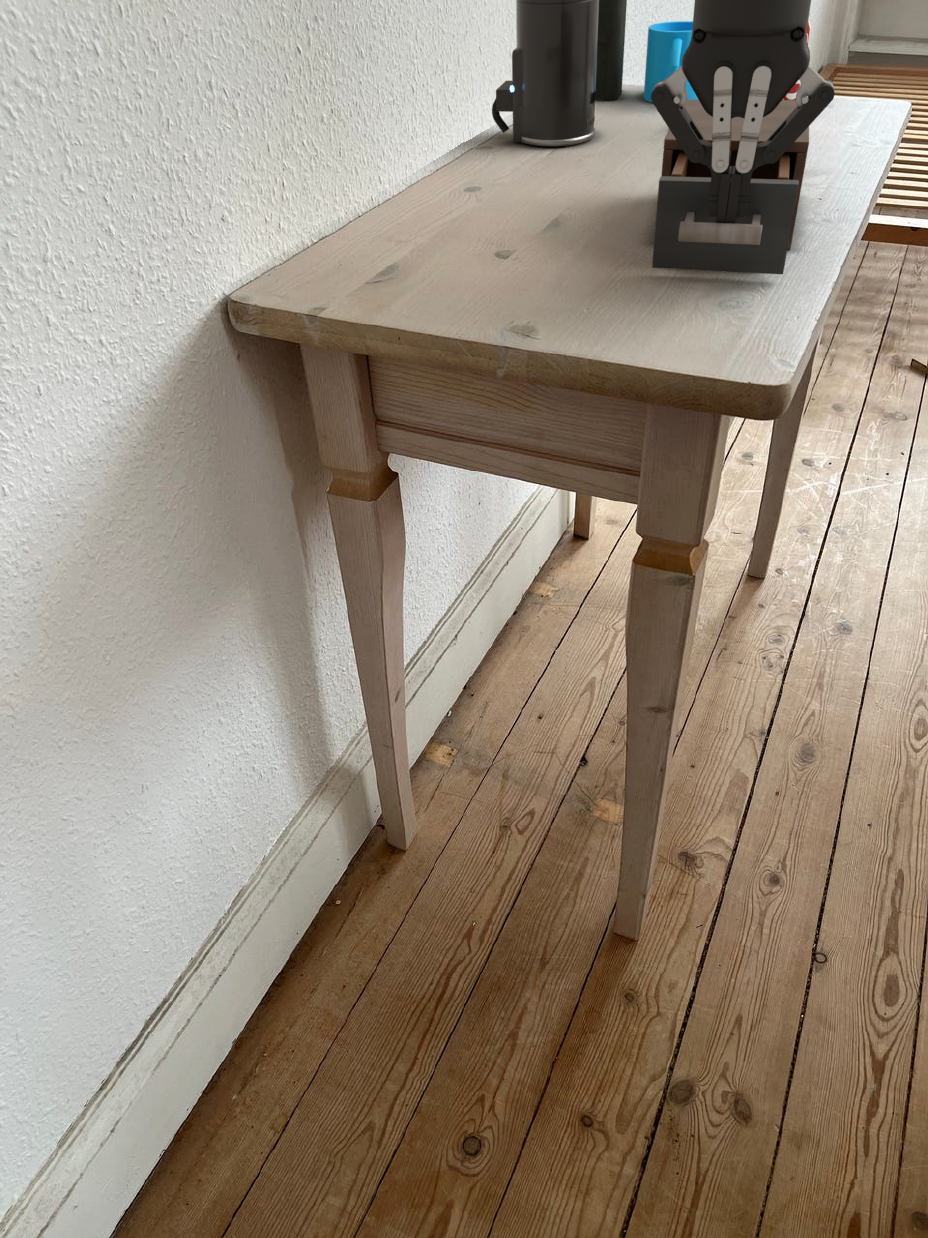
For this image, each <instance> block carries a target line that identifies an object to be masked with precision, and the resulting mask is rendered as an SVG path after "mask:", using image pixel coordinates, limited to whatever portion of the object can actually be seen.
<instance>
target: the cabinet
mask: <svg viewBox="0 0 928 1238" xmlns="http://www.w3.org/2000/svg"><path fill="white" fill-rule="evenodd" d="M797 106H798V105H797V103H796V100H782V101H781V102H780V103H779V105H778V106H777V107H776V108H775V109H774V111H772V112H771V113H770V114H769V115H767V116H765V117H763V118H762V123H761V128H760V133H759V138H758V142H757V144H760V143H762V142H765V141H767V140H768V138H769V137H770V136H771V135H772V134H773V133H774V132H775V130H776V129H777V128H778V127H779V126H780V125H781V124H782V123H783V121H784V120H785V119H786V118H787V117H788V116H789V115H790V114H791V112H792V111H793V110H794V109H795V108H796V107H797ZM684 107H685V108H686V110H687V111H688V113H689V115H690V116H691V118H692V119H693V121H694V123H695V124H696V126H697V127H698V129H699V131H700V132H701V134H702V135H703V137H704V139H705V140H706V141H708V142H711V143H712V142H713V139H712V130H713V117H712V116H710V115H709V114H708V113H706V111H705V110H704V108H703V107H702V105H701V103H700V101H699V100H696V99H686V102H685V103H684ZM743 124H744V118H741V117H735V118H733V121H732V136H731V151H738V149H739V144H740V139H741V134H742V129H743ZM663 140H664V141H663V151H662V152H663V153H662V164H661V176H671V174H672V172H673V169H674V166H675V163H676V161H677V158H678V155H679V153H680V150H682V148H681V146H680V145H679V143H678V142H677V140H676V139H675V137H674V135H673V134H672V132H671V131H670V129H669V128H668V131H667V133H666V135H665V138H664V139H663ZM809 144H810V126H809V127H808V128H807V129H806V130H805V131H804V132H803V133H802V134H801V135H800V136H799V138H798V139H797V140H796V141H795V142H794V143H793V144H792V145H791V146H790V147H789V149H788V150H787V151H786V152H790V166H789V180H798V181H799V185H798V191H797V197H796V203H795V208H794V214H793V220H792V226H791V231H790V237H789V243H788V249H787V251H790V250H791V248H792V243H793V236H794V231H795V226H796V219H797V215H798V208H799V203H800V197H801V192H802V186H803V180H804V174H805V169H806V164H807V158H808V152H809V146H810V145H809ZM661 176H660V177H661Z"/></svg>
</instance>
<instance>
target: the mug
mask: <svg viewBox="0 0 928 1238" xmlns="http://www.w3.org/2000/svg"><path fill="white" fill-rule="evenodd" d="M692 27H693V20H689V21H688V20H680V21H679V20H677V21H675V20H674V21H664V22H658V23H654V24H650V25H649V26H648V29H647V42H646V55H645V57H646V58H645V71H644V72H645V73H644V84H643V85H644V87H643V100H645V101H647V102H649V103H653V102H652V100H651V93H652V91H653V89H654V87H655V85H656V84H657V83H658V82H659V81H661V80H666V79H667V78H668V77H669V76H670V75H672V74H673V73H674V72H675V71H676V70H678V69H679V68H680V67H681V66H682V58H683V55H684V53H685V51H686V49H687V48H688V46H689V44H690V41H691V36H692ZM685 87H686V90H687V94H688V95H687V99H696V100H698V98H697V96H696V94H695V92H694V91H693V89H692V87H691V85H690V84H689V82H688V80H687V81H686V84H685Z"/></svg>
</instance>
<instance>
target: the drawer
mask: <svg viewBox="0 0 928 1238" xmlns="http://www.w3.org/2000/svg"><path fill="white" fill-rule="evenodd" d="M737 154H738V151H731V162H730V166H736V160H737ZM789 166H790V152H785V153H784V154H783V155H782V156H781V157H780V158H779V160H778V161H777V162H775V163H773V164H765V165H762V166H759V167H758V168H756V169H755V170H754V171H753V173H752V176H751V182H750V190H749V197H748V205H747V211H746V213H745V215H744V217H736V223H735V224H732V223H726V222H725V223H716V217H710V215H709V212H708V204H709V195H710V185H711V176H712V174H711V170H710V169H709V168H708V167H707V166H706V165H703V164H701V163H692V162H691V161H690V160H689V159H688V157H687V156H686V154H685V153H684V151H683V150H680V153H679V155H678V158H677V161H676V163H675V166H674V169H673V172H672V174H671V176H660V177H659V180H658V190H657V201H656V213H655V226H654V238H653V249H652V261H651V262H652V263H651V268H653V269H669V270H687V271H690V270H691V271H708V272H725V273H726V272H727V273H728V272H729V273H745V274H747V273H748V274H749V273H750V274H768V275H784V272H785V271H784V270H785V266H786V260H787V255H788V250H787V249H788V243H789V237H790V231H791V226H792V220H793V214H794V208H795V203H796V197H797V191H798V185H799V181H798V180H789ZM732 171H733V167H732ZM731 177H732V175H731ZM730 185H731V183H730ZM729 194H730V192H729ZM728 202H729V200H728ZM727 210H728V208H727ZM726 218H727V216H726Z"/></svg>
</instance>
